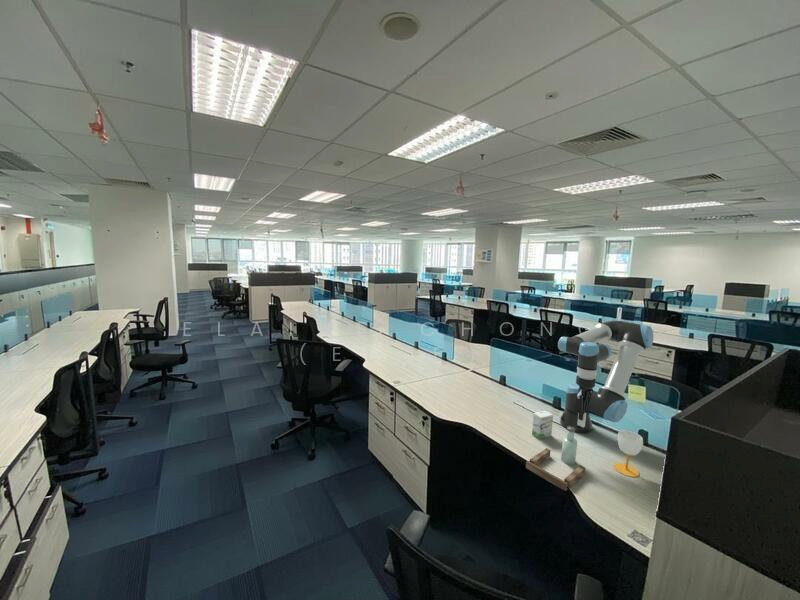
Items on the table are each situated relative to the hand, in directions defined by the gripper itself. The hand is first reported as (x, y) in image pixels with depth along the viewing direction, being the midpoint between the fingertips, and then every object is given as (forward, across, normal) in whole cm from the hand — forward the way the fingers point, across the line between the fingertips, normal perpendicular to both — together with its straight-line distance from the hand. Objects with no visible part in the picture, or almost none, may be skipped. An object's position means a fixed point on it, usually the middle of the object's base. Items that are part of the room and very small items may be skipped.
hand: (581, 425), depth 148 cm
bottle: (+14, +10, 0) cm, 17 cm away
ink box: (+14, 0, -18) cm, 23 cm away
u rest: (+14, +22, 0) cm, 26 cm away
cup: (+14, -4, +18) cm, 23 cm away
